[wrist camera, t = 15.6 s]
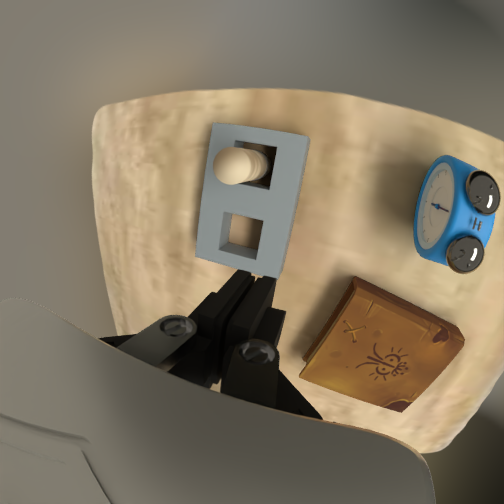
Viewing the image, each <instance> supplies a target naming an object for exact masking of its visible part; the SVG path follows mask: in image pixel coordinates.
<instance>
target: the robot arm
mask: <svg viewBox="0 0 504 504" xmlns="http://www.w3.org/2000/svg"><path fill="white" fill-rule="evenodd" d="M276 281H277V278H273V277H269V276H265V275H264V276H263V277H262V278H259V277H258V278H257V280H256V281H255V276H251V272H248V271H244V270H240V269H238V270H237V271H236V272H235V273H234V274H233V276H232V277H231V278H230V279H229V280H228V281H227V282H226V283H225V284H224V285H223V287H222V288H221V289H220V290H219V291H218V292H217V293H215V292H211V293H210V294H209V295H208V296H207V297H206V298H205V299H204V300H203V301H202V302H201V303H200V305H199V306H198V307H197V308H196V309H195V310H194V311H193V312H192V313H191V314H190V315H189V316H188V317H185V316H181V315H169V316H165V317H163V318H161V319H159V320H157V321H156V322H154V323H153V324H151V325H150V326H148V327H147V328H145V329H144V330H142V331H141V332H139V333H138V334H132V335H123V336H113V337H104V338H99V339H98V338H96V337H94V336H92V335H91V334H89V333H87V332H85V331H84V330H82V329H80V328H78V327H77V326H75V325H74V324H72V323H70V322H69V321H67V320H66V319H64V318H62V317H60V316H59V315H57V314H55V313H53V312H52V311H50V310H49V309H47V308H45V307H43V306H41V305H39V304H37V303H34V302H32V301H29V300H26V299H20V298H8V299H5V300H3V301H0V504H435V494H434V488H433V482H432V478H431V474H430V471H429V468H428V466H427V463H426V461H425V460H424V458H423V457H422V455H421V454H420V453H419V452H418V451H417V450H415V449H414V448H412V447H411V446H409V445H407V444H406V443H404V442H402V441H399V440H397V439H395V438H392V437H390V436H388V435H385V434H381V433H378V432H375V431H372V430H368V429H363V428H359V427H355V426H351V425H345V424H340V423H336V422H329V421H325V420H323V418H322V417H321V416H320V414H319V413H318V412H317V411H316V410H315V409H314V407H313V406H312V405H311V404H310V403H309V402H308V401H307V400H306V399H305V398H304V397H303V396H302V394H301V393H300V392H299V391H298V390H297V389H296V388H295V387H294V386H293V385H292V383H291V382H290V381H289V380H288V379H287V378H286V377H285V376H284V374H283V373H282V372H281V371H280V370H279V360H280V355H279V351H278V350H277V345H278V342H279V339H280V335H281V331H282V327H283V323H284V319H285V315H286V311H283V310H279V309H275V308H271V307H272V302H273V297H274V292H275V286H276Z"/></svg>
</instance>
